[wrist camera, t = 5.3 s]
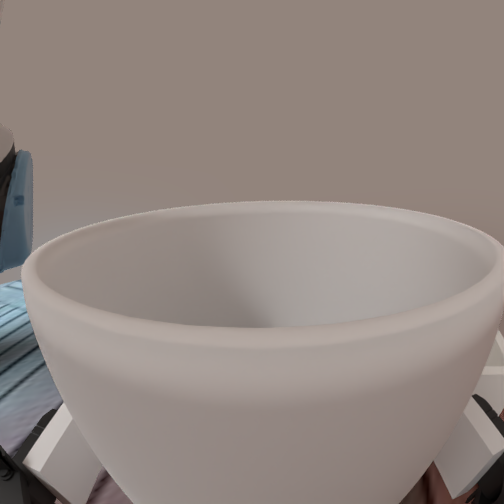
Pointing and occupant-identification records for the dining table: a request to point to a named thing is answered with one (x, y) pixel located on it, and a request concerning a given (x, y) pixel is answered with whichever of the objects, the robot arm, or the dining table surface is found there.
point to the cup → (267, 346)
